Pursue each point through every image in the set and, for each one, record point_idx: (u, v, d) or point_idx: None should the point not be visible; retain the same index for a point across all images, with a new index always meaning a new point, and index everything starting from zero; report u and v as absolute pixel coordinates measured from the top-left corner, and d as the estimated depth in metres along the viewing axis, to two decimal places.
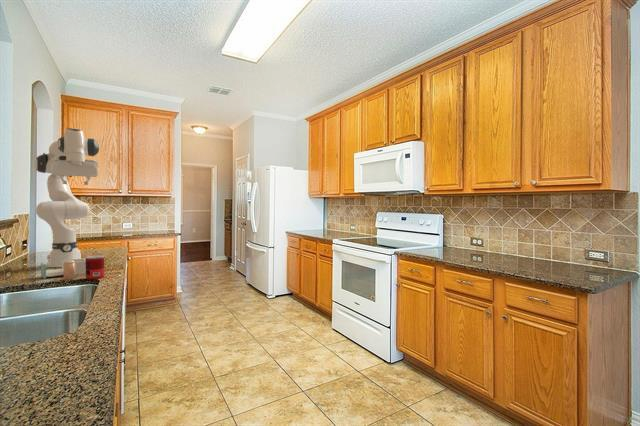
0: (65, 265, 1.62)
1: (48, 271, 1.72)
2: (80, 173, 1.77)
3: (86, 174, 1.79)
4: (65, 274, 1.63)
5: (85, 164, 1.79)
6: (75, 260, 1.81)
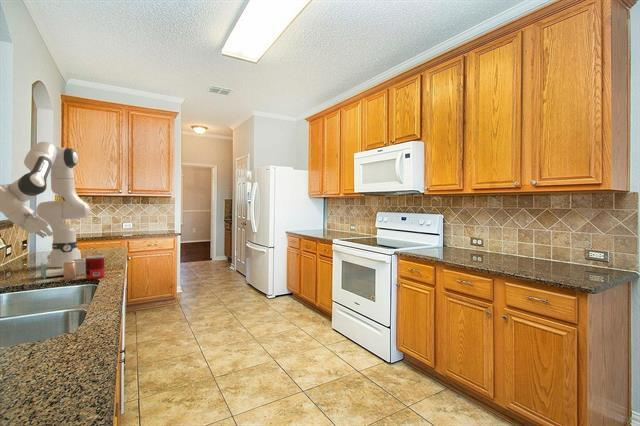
0: (65, 265, 1.62)
1: (48, 271, 1.72)
2: (34, 229, 1.54)
3: (37, 229, 1.52)
4: (65, 274, 1.63)
5: (26, 221, 1.50)
6: (75, 260, 1.81)
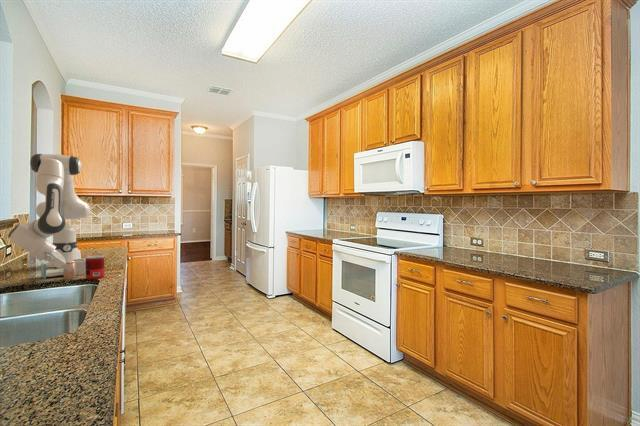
0: None
1: (48, 271, 1.72)
2: None
3: None
4: (65, 274, 1.63)
5: None
6: (75, 260, 1.81)
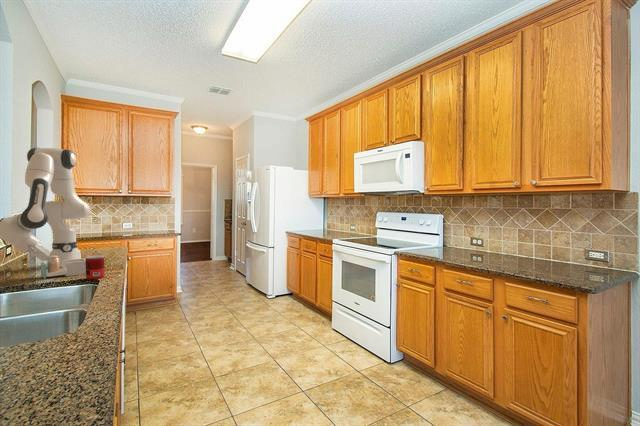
0: None
1: None
2: None
3: None
4: (49, 268, 1.68)
5: None
6: (75, 260, 1.81)
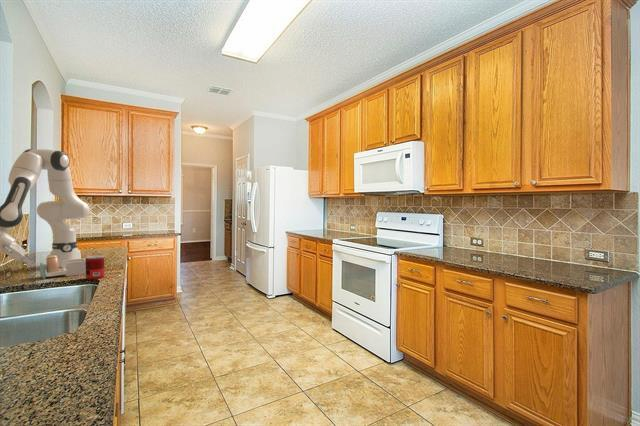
0: (48, 260, 1.68)
1: None
2: None
3: None
4: (48, 268, 1.68)
5: None
6: (75, 260, 1.81)
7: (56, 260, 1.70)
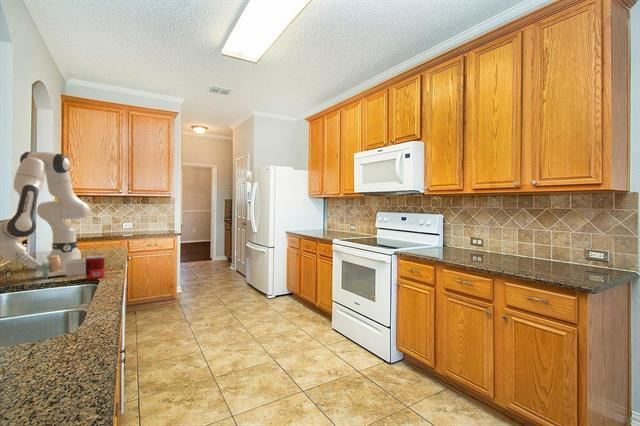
0: (50, 259, 1.68)
1: None
2: None
3: None
4: (51, 268, 1.69)
5: (18, 260, 1.57)
6: (75, 260, 1.81)
7: (58, 260, 1.71)
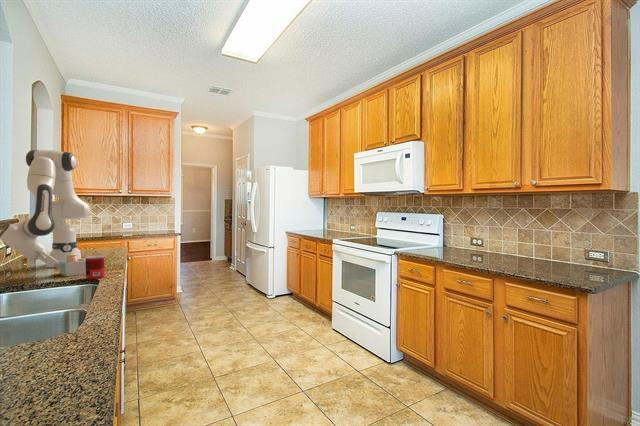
0: (68, 258, 1.74)
1: None
2: None
3: None
4: None
5: (38, 258, 1.63)
6: None
7: (76, 258, 1.76)
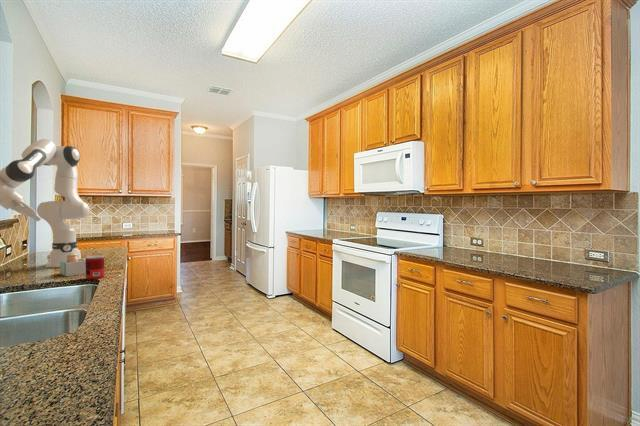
0: (70, 258, 1.74)
1: None
2: (25, 214, 1.62)
3: (26, 215, 1.60)
4: None
5: (15, 207, 1.57)
6: None
7: (77, 258, 1.76)
